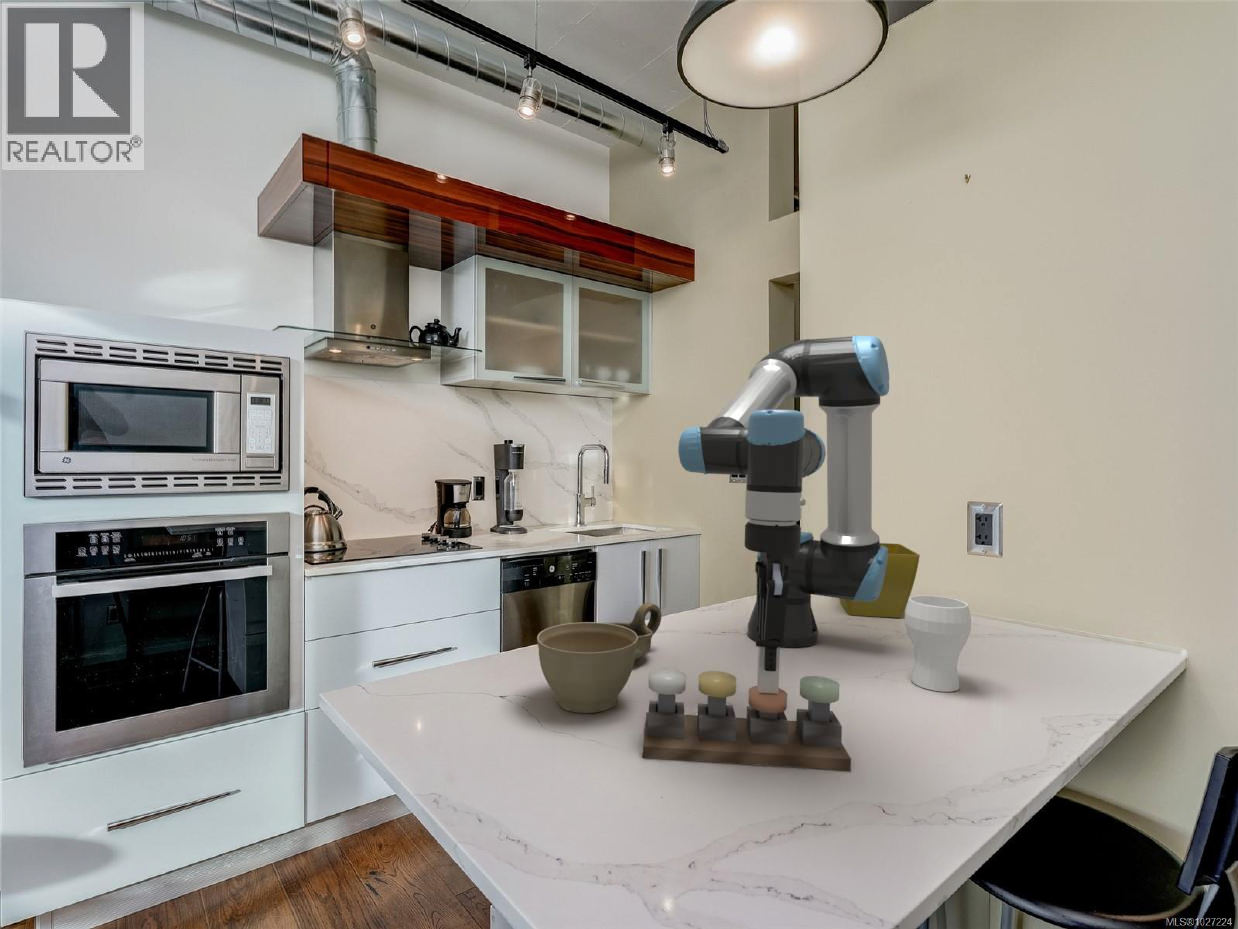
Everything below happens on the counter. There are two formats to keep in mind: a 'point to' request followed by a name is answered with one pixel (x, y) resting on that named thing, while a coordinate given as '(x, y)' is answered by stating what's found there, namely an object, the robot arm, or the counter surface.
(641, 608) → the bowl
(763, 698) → the terracotta button
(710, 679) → the ochre button
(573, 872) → the counter surface
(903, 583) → the flower pot
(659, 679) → the grey button
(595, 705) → the planter bowl
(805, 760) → the panel
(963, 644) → the cup
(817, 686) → the sage button
